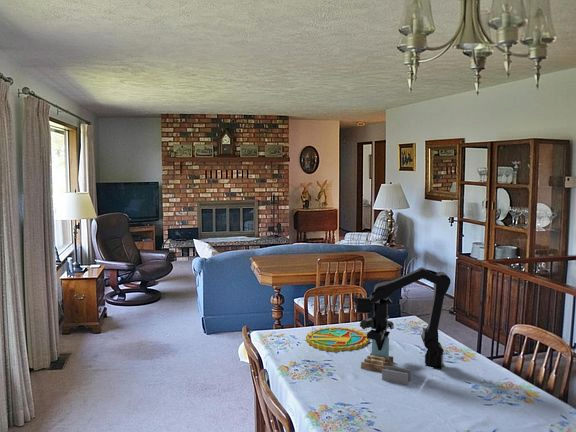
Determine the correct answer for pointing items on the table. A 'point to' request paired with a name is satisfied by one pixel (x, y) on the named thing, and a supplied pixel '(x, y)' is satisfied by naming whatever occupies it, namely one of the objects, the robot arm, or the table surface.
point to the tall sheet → (384, 350)
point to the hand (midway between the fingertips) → (380, 349)
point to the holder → (396, 374)
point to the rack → (375, 367)
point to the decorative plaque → (336, 339)
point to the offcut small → (377, 362)
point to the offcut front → (377, 358)
